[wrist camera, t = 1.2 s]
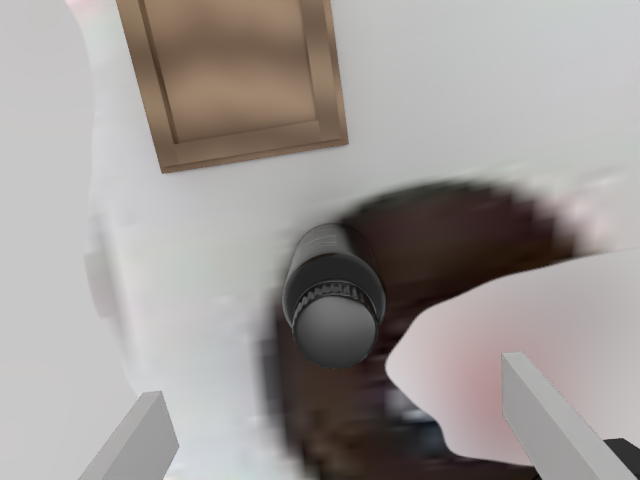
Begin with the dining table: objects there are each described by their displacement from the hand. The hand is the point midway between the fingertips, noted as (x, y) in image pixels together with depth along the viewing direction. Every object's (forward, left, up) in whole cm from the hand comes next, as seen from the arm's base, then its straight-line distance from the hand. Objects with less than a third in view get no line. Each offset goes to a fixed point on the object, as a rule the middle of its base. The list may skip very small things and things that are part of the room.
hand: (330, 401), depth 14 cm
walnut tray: (+17, +5, -18) cm, 25 cm away
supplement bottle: (0, 0, -18) cm, 18 cm away
